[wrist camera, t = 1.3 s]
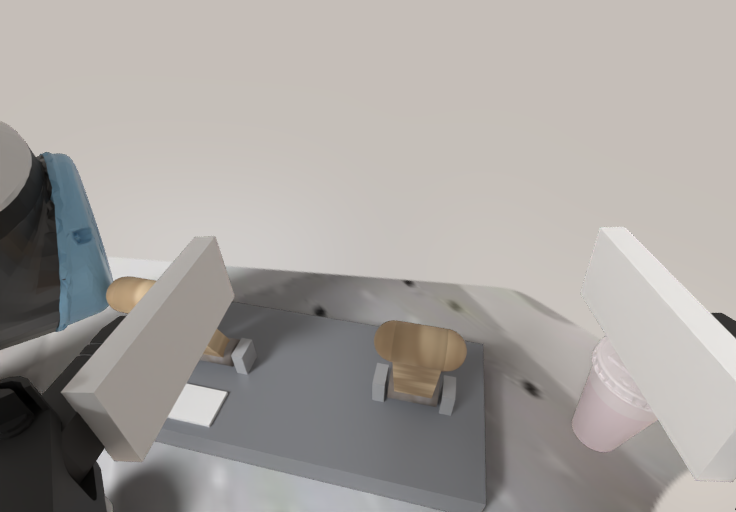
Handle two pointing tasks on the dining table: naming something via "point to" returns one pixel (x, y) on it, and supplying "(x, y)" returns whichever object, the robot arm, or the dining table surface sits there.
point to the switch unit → (334, 411)
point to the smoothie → (610, 403)
